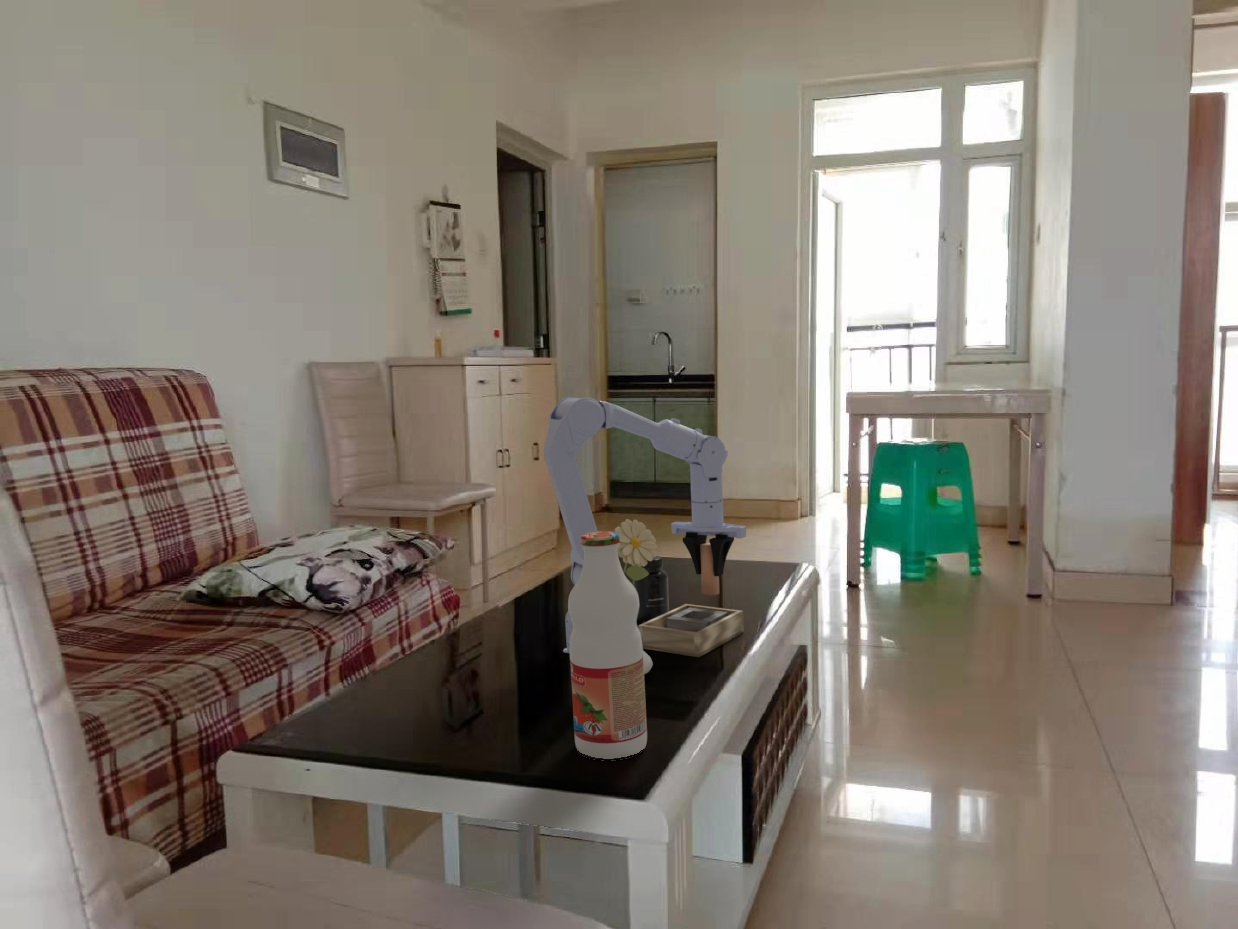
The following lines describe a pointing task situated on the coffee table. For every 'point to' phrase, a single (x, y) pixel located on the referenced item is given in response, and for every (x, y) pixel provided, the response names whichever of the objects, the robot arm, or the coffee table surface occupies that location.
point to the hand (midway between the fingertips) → (709, 574)
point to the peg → (708, 571)
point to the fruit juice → (606, 655)
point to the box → (691, 629)
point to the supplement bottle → (652, 591)
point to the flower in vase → (636, 557)
